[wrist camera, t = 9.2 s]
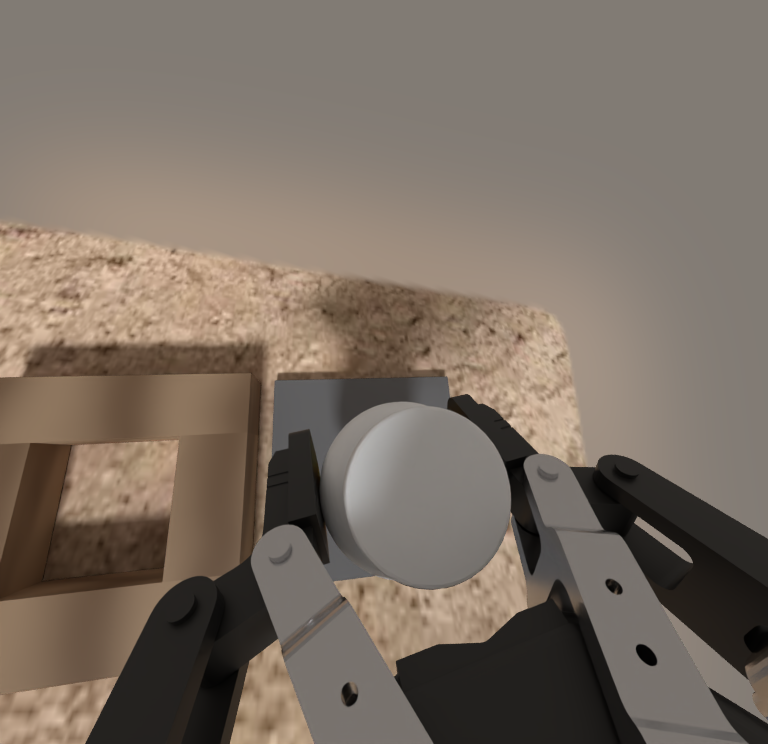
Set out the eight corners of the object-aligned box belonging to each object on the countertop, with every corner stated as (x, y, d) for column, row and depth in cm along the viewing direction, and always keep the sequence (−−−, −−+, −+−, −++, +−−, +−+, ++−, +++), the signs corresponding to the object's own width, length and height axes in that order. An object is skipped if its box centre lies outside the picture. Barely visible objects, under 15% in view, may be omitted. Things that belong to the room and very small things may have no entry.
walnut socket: (-62, 674, 14) (-141, 717, 12) (17, 388, 18) (-32, 378, 16) (248, 629, 17) (233, 658, 14) (261, 383, 20) (250, 373, 18)
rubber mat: (269, 585, 17) (267, 589, 17) (276, 382, 21) (274, 380, 20) (466, 560, 19) (470, 563, 19) (444, 378, 22) (447, 376, 22)
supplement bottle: (345, 413, 17) (353, 350, 8) (436, 440, 17) (550, 412, 8) (312, 515, 15) (271, 595, 6) (414, 544, 15) (527, 662, 6)
